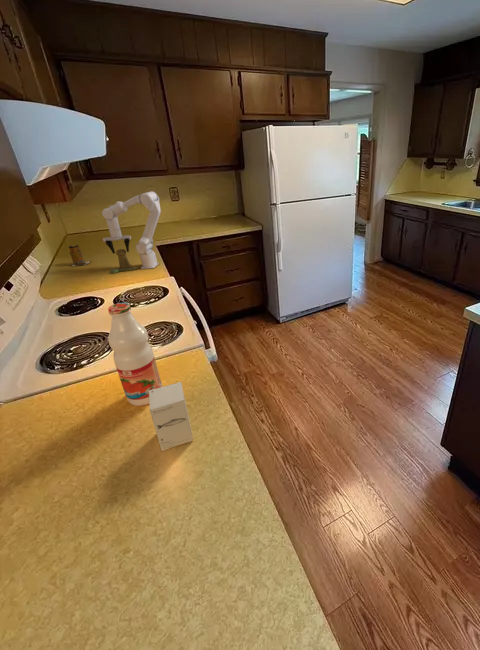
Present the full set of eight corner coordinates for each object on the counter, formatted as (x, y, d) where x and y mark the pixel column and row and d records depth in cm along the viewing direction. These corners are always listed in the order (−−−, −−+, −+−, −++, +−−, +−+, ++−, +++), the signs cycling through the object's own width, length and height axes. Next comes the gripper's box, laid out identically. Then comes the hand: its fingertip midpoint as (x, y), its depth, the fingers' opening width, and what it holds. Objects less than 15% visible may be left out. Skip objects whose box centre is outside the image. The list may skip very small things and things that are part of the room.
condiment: (76, 262, 211) (70, 244, 206) (90, 261, 212) (84, 243, 207) (71, 266, 205) (64, 247, 200) (85, 265, 206) (79, 246, 201)
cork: (132, 265, 201) (128, 248, 197) (127, 269, 196) (122, 251, 191) (123, 265, 202) (118, 248, 197) (117, 269, 197) (112, 251, 192)
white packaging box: (161, 452, 75) (148, 410, 69) (159, 430, 81) (147, 389, 75) (194, 441, 77) (184, 399, 72) (190, 420, 83) (181, 380, 78)
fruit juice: (169, 385, 96) (147, 298, 84) (152, 408, 88) (124, 315, 76) (140, 383, 98) (114, 297, 86) (120, 405, 89) (87, 314, 77)
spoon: (138, 268, 197) (138, 266, 196) (137, 270, 193) (137, 268, 192) (111, 271, 193) (110, 269, 192) (109, 273, 189) (109, 271, 189)
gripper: (99, 232, 184) (106, 255, 189) (127, 229, 187) (133, 252, 193) (102, 229, 190) (108, 252, 196) (129, 227, 193) (135, 249, 199)
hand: (121, 252), depth 195 cm, fingers open, 7 cm apart
